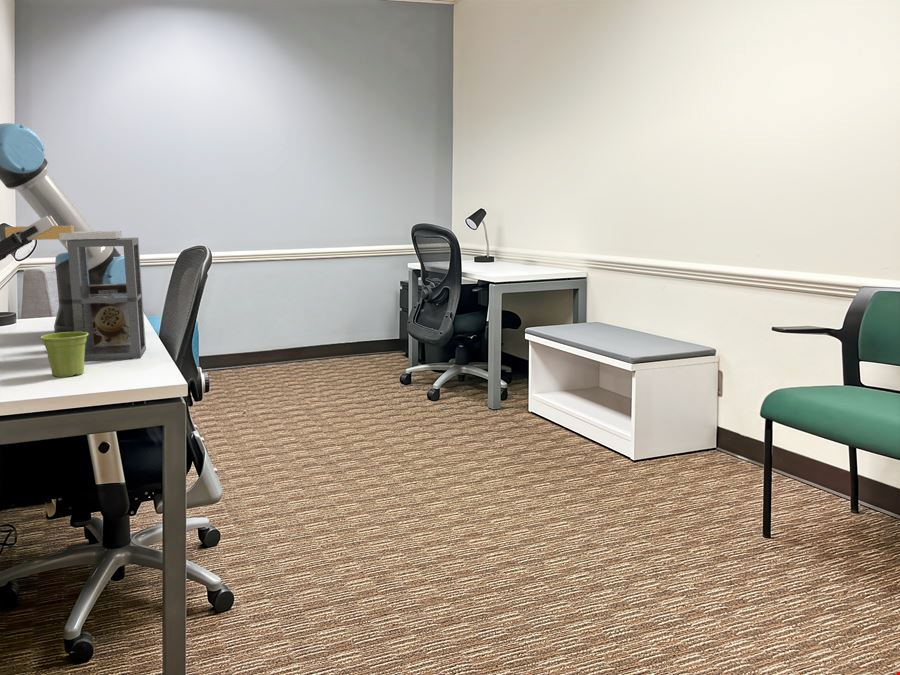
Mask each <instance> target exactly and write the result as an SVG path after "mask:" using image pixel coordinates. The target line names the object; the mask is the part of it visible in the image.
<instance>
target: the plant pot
mask: <svg viewBox="0 0 900 675" xmlns="http://www.w3.org/2000/svg"><path fill="white" fill-rule="evenodd" d="M87 336H88V333H87V332H62V333H55V332H54V333H47V334H44V335H41V336H40V337H39V338H40V339H41V341H42V342H43V345H44V346H45V351H46V354H47V357H48V361H49V366H50V370H51V374H52V376H54V377H58V378H64V377H65V378H66V377H73V376H75V375H79V376H80V375H82V374H84V371H85V361H84V356H85V343H86V339H87Z"/></svg>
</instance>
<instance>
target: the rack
mask: <svg viewBox="0 0 900 675" xmlns="http://www.w3.org/2000/svg"><path fill="white" fill-rule="evenodd" d="M139 244H140V242H139V237H121V238H117V239H75V240H68V241H66V247H68V250H67V252H68V259H69V271H70V283H71V295H72V307H73V320H74V332H87V333H88V336H87V339H86V343H85V356H84V362H93V361H95V362H97V361H108V360H111V361H113V360H114V361H116V360H131V359H130V358H136V359H141V358H142V357H143V355H144V354H145V352H146V350H147V346H146V331H145V317H144V316H145V314H144V301H143V300H144V299H143V287H142V273H141V272H142V271H141V259H140V245H139ZM106 246H114V247H123V256H124V260H125V274H126V288H127V293H106V294H90V285H89V273H88V260H87V247H106ZM113 302H128V316H129V330H130V344H131V345H113V346H94V336H93V323H92V311H91V303H113ZM128 358H129V359H128ZM115 359H116V360H115Z"/></svg>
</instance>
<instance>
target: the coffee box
mask: <svg viewBox="0 0 900 675" xmlns="http://www.w3.org/2000/svg"><path fill="white" fill-rule="evenodd" d="M106 293H127V288H126V284H90V294H106ZM91 311H92V323H93V336H94V346H113V345H131V344H130V330H129V316H128V302H113V303H91Z"/></svg>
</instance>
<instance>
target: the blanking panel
mask: <svg viewBox="0 0 900 675" xmlns="http://www.w3.org/2000/svg"><path fill="white" fill-rule="evenodd" d="M28 226H29V225H26V226H4V233H5V238H7V237H9V236H11V235H12V234H13V233H17V232H21V230H23V229H24V228H26V227H28ZM21 233H22V232H21ZM117 238H123V237H122V230H108V231H107V230H105V231H103V230H101V231H95V230H94V231H90V232H74V226H53V227H52V228H50V229H48V230H46V231H45V232H43V233H41V234H39V235H38V236H36V237H34V238H33V239H31V240H32V241H34V240H35V241H37V240H38V241H39V240H40V241H41V240H42V241H44V240H46V241H47V240H49V241H50V240H58V239H60V240H75V239H117ZM26 240H27V238H26Z"/></svg>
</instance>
